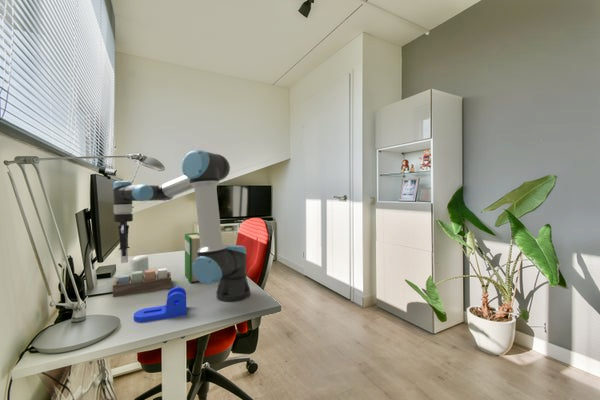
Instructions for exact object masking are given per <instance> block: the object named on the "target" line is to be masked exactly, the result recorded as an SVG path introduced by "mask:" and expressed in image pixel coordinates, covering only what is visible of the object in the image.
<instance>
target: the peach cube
mask: <svg viewBox="0 0 600 400" xmlns="http://www.w3.org/2000/svg"><path fill="white" fill-rule="evenodd" d="M155 274H156V269H148V270H146V271H145V281H147V280H154V279H155Z"/></svg>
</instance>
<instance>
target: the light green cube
mask: <svg viewBox="0 0 600 400" xmlns="http://www.w3.org/2000/svg"><path fill="white" fill-rule="evenodd" d="M142 280H143V271H136V272H133V273H132V282H139V281H142Z"/></svg>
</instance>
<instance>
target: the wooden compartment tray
mask: <svg viewBox="0 0 600 400" xmlns="http://www.w3.org/2000/svg"><path fill="white" fill-rule="evenodd" d="M118 278H119V277H118ZM118 278H116V279H115V280H114V282H113V285H112V297H118V296H126V295H132V294H140V293H146V292H147V293H149V292H153V291H154V292H155V291H160V290H167V289H168V290H170V289H172V275H171V272H170V271H167V278H162V279H158V273H155V279H154V280H147V281H145V275H143V280H142V281H139V282H132V277H131V276H130V282H129V283H125V284H118Z"/></svg>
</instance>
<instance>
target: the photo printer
mask: <svg viewBox="0 0 600 400" xmlns="http://www.w3.org/2000/svg"><path fill="white" fill-rule="evenodd" d="M146 270H149V257H148V256H147V254H145V255H144V254H141V255H137V256H135V257H134V258H132V259H131V260H130V277H132V273H133V272H136V271H143V275H145V271H146Z"/></svg>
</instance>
